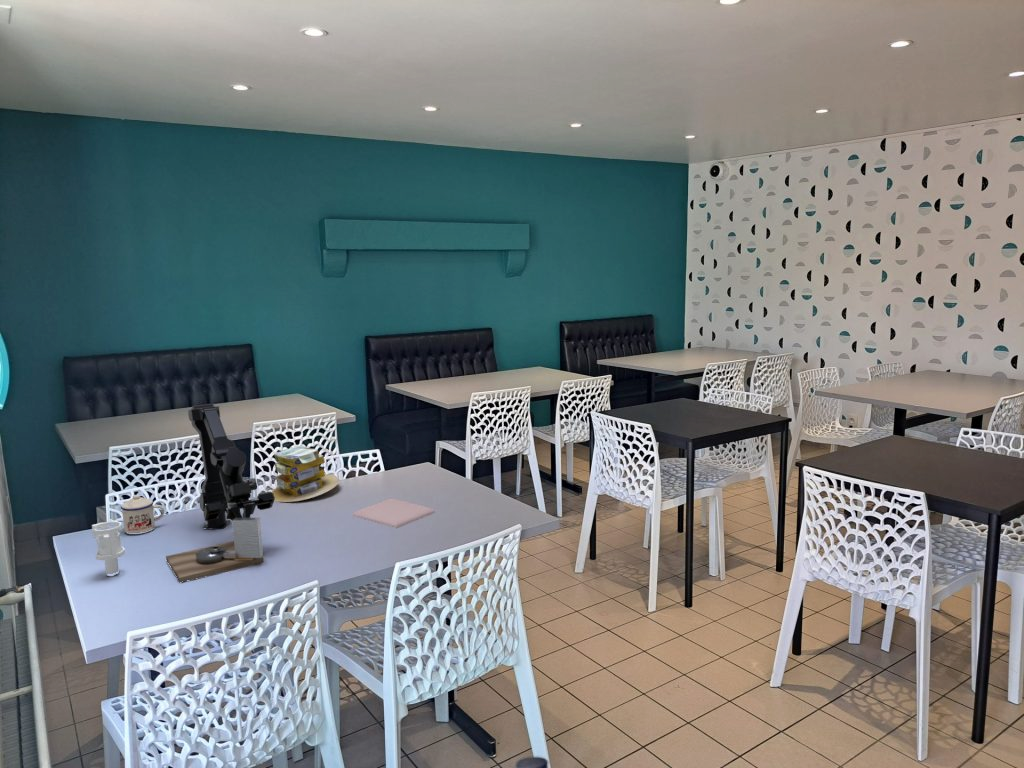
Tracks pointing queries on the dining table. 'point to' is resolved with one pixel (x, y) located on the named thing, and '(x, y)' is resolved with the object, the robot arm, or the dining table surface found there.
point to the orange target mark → (243, 558)
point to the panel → (393, 512)
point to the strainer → (108, 544)
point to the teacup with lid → (139, 514)
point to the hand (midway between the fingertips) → (247, 532)
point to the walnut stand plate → (205, 564)
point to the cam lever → (237, 543)
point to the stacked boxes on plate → (301, 475)
